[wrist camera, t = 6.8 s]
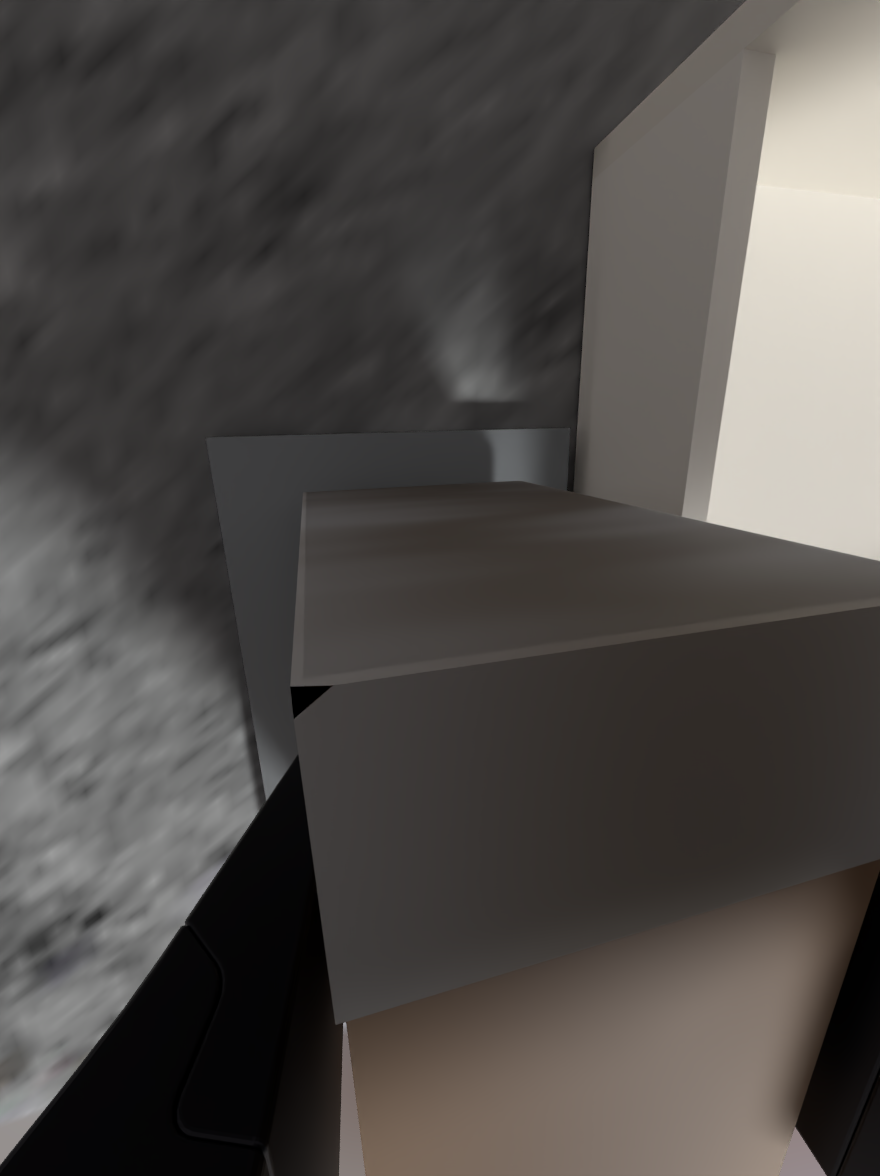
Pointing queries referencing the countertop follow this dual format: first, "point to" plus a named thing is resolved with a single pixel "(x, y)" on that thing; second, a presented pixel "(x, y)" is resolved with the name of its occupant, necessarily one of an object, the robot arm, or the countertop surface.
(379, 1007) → the walnut block
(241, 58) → the countertop surface
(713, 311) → the drawer
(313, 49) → the countertop surface
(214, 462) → the slate mat
